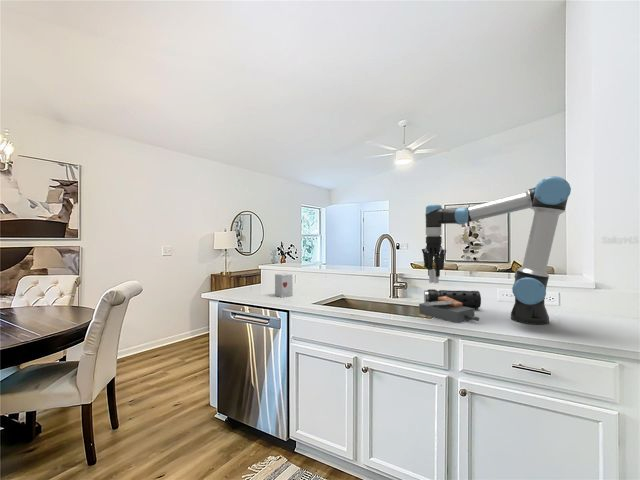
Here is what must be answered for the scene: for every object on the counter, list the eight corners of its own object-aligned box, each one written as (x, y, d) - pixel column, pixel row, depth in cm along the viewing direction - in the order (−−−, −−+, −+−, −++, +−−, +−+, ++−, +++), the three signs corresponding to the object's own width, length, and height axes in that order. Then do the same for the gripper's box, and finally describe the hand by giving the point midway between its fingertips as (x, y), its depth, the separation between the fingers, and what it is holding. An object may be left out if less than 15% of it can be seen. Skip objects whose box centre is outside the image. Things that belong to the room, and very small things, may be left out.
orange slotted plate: (462, 305, 160) (462, 302, 160) (454, 306, 157) (455, 304, 157) (445, 298, 168) (445, 295, 168) (437, 299, 165) (438, 296, 165)
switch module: (486, 321, 150) (486, 309, 150) (469, 326, 143) (469, 313, 143) (435, 310, 174) (435, 299, 174) (419, 313, 167) (419, 302, 167)
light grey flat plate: (454, 303, 156) (453, 300, 157) (446, 304, 153) (445, 301, 153) (437, 303, 165) (436, 301, 165) (429, 305, 161) (428, 302, 162)
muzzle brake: (481, 311, 170) (481, 292, 170) (425, 309, 176) (425, 290, 176) (476, 307, 179) (476, 289, 179) (423, 306, 185) (423, 288, 185)
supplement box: (281, 297, 214) (281, 275, 214) (274, 295, 221) (274, 274, 221) (293, 296, 220) (292, 274, 220) (285, 294, 227) (285, 272, 227)
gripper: (451, 235, 158) (451, 283, 158) (426, 236, 170) (426, 280, 171) (441, 235, 154) (442, 285, 154) (416, 236, 166) (416, 281, 167)
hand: (433, 282), depth 162 cm, fingers open, 2 cm apart
